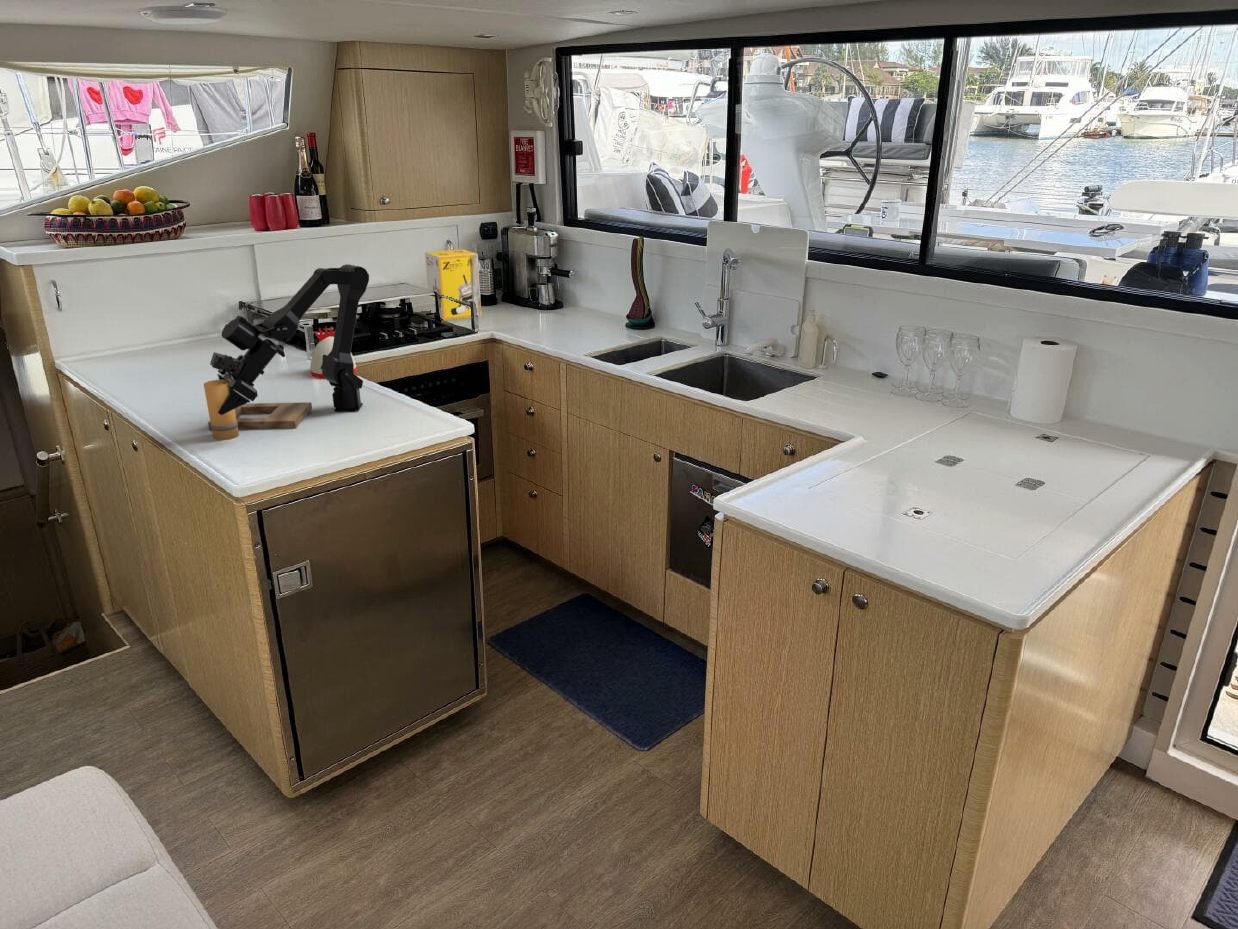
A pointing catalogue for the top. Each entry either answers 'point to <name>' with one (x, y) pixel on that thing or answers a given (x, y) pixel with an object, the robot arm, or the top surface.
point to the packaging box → (454, 281)
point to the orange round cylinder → (220, 424)
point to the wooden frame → (272, 415)
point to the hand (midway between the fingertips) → (216, 409)
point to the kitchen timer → (323, 352)
